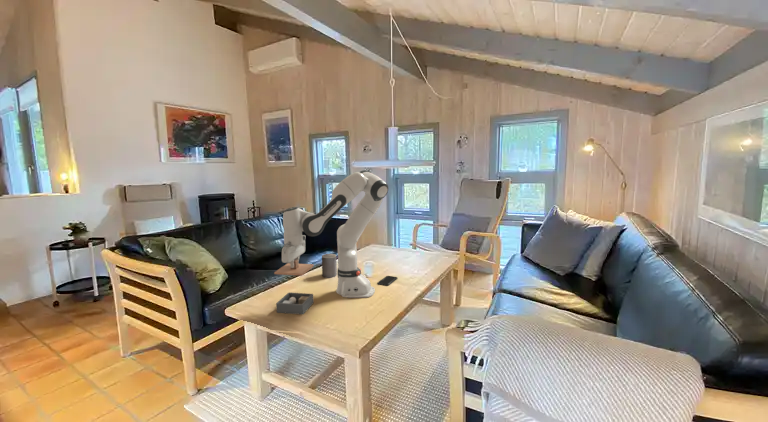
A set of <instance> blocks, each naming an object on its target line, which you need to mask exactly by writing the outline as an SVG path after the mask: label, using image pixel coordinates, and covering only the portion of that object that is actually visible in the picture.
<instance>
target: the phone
mask: <svg viewBox="0 0 768 422" xmlns="http://www.w3.org/2000/svg"><path fill="white" fill-rule="evenodd" d="M397 280H398V277H397V276H393V275H386V276H384V277H383V278H382V279H380V280H379V281H378V282H377V283H376V284H377V285H379V286H385V287H388V286H390V285H392V284H393V283H394V282H395V281H397Z"/></svg>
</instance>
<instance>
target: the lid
mask: <svg viewBox="0 0 768 422" xmlns="http://www.w3.org/2000/svg"><path fill="white" fill-rule="evenodd" d="M293 262H294V264H295V267H294V268H291V267H290V263H285V265H283V266H281V267H280V268H279V269H277V270H275V271H274V273H273V274H274V275H281V276H282V275H283V276H284V275H285V276H304V275H305V274H306V273H308V271H310V270H311V269H313V267H314V266H315V265H314V264H313V263H312V264H311V263H299V264H298V260H295V259H294V261H293Z"/></svg>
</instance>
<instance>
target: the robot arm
mask: <svg viewBox="0 0 768 422" xmlns="http://www.w3.org/2000/svg"><path fill="white" fill-rule="evenodd" d="M388 191H389V185H388V183H387V182H386V181H385V180H383V178H381V177H379V176H378V175H377V174H374V173H372V172H370V171H369V170H365V169H364V170H360V171H355V172H353V173H351V174H349V175H348V176H346V177H344V179H342V180H341V181H340V182H338V184H337V185H336V186H335V187H334V188H333V190H332V192H331V199H330V201H329V202H327V204H326V205H325V206H324V207H323V208H322V209H321V210H320V211H319V212H317V213H314V212H309V211H306V210H303V209H301V208H300V207H297V206H294V207H289V208H286V209H285V210H284V211H283V216H282V225H283V230H284V231H283V243H284V245H283V247H282V249H281V262H282V263H285V264H287V263H290V267H291V268H294V267H295V264H294V262H293V261H294V260H298V264H300V263H299V261H300V257H301V255H303V254H304V253H305V252H306V236H308V237H317V236H319V235H321V234H322V232H324V229H325V227H326V225H327V224H328V222H329V221H330V220H331V219H332V218H333V217H335V216H336V214H337V213H338V212H340V211H341V210H342V208H344V207H345V206H346V205H348V204H349V203H350V202H351V201H353V200H354V199H355V198H356V197H358V196H359V194H360V193H361V192H364V193H365V194H364V196H363V197H362V198H361V200H360V201H359V202H358V203H357V205H355V208H354V209H353V210H352V212H351V213H350V215H349V217H348V219H347V220H346V221H345V223H344V224H342V225H340V226H339V227H338V229H337V231H336V243H337V264H338V265H337V275H336V276H337V286H336V290H335V291H336V294H338V295H340V296H341V297H343V298H351V299H352V298H356V299H357V298H370V297H372V296H374V294H375V291H376V289H375V287H374V286H372V284H371V281H370V280H369V278H367V277H366V276H364V275H363V274H362V272H361V271H362V268H359V267H358V250H357V243H358V241H359V239H360V237H361V236H362V234H363V233H364V231H365V229H366V227H367V225H369V223H370V221H371V220H372V219H373V217H374V216H375V214H376V213H377V212H378V210H379V208H380V206H381V205H382V202H383V199H384V198H385V197H386V196H387V195H388ZM303 233H304V234H303Z"/></svg>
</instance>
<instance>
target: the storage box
mask: <svg viewBox="0 0 768 422" xmlns="http://www.w3.org/2000/svg"><path fill="white" fill-rule="evenodd" d="M301 296H306V297H308V298H307V299H306V300H305V301H304V302H303V303H302V304H299V298H300V297H301ZM291 297H295V298H296V303H295V304H290V303H283V302H284V301H285V300H286V301H289V299H290V298H291ZM314 302H315V301H314V294H313V293H305V292H304V293H303V292H287V293H286V294H285V295H284V296H283V297H282V298H281V299H279V300H278V301H277V302H276V303H275V305H276V306H275V307H276V313H277V314H290V315H291V314H292V315H304V314H305V313H306V312H307V311H308V309H310V307H311V306H312V305H314Z"/></svg>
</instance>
